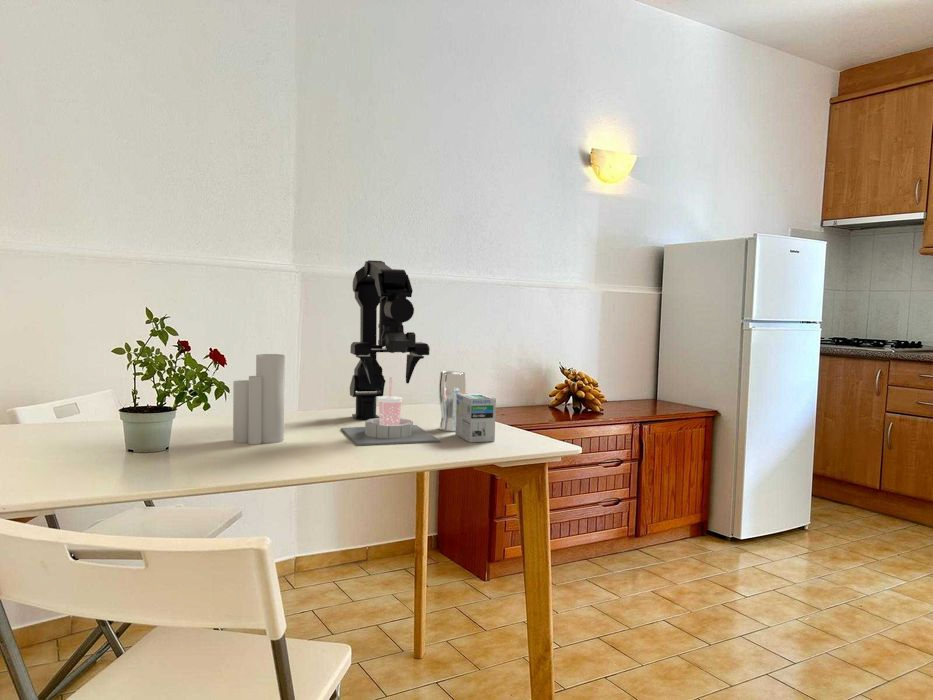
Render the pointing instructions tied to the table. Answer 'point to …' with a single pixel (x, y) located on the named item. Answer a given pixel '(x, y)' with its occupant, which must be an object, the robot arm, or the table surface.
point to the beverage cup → (389, 408)
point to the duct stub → (388, 433)
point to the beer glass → (450, 397)
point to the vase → (260, 402)
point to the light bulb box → (475, 417)
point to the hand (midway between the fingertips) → (389, 383)
